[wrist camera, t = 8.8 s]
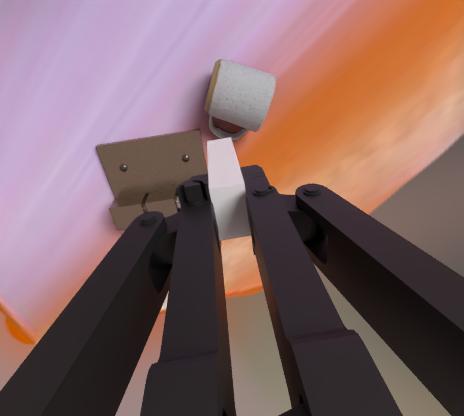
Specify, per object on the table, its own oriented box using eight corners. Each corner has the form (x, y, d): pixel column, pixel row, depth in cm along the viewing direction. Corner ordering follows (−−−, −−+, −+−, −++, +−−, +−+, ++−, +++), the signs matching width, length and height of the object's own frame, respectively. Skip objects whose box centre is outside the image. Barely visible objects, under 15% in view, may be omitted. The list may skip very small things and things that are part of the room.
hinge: (140, 255, 53) (134, 270, 49) (97, 144, 42) (86, 153, 38) (221, 242, 53) (222, 257, 49) (199, 128, 42) (198, 136, 38)
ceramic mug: (215, 55, 37) (216, 56, 31) (270, 73, 39) (282, 78, 32) (197, 130, 42) (195, 144, 36) (247, 143, 44) (254, 160, 37)
